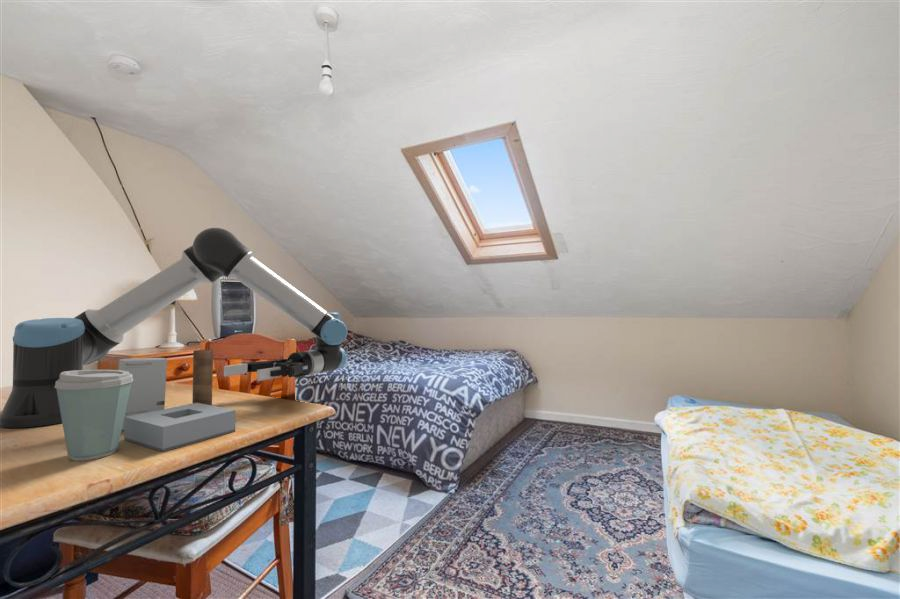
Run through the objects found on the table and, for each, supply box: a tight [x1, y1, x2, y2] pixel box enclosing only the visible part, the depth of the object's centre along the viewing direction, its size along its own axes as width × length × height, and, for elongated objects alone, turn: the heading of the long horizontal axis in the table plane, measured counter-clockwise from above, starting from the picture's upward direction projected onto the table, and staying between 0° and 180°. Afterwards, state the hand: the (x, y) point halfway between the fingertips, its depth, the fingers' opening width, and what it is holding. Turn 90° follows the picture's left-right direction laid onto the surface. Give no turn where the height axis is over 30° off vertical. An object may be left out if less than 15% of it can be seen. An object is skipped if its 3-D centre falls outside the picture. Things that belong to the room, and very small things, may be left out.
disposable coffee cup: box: [55, 369, 133, 462], centre depth 71 cm, size 11×11×15 cm
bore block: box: [123, 403, 236, 453], centre depth 82 cm, size 14×14×4 cm
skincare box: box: [118, 357, 168, 432], centre depth 90 cm, size 8×6×15 cm
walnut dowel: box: [191, 349, 214, 406], centre depth 96 cm, size 4×4×16 cm
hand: (240, 373), depth 105 cm, fingers open, 13 cm apart
